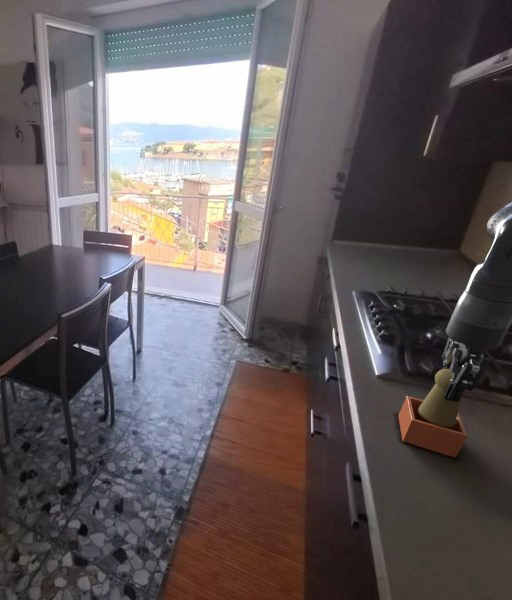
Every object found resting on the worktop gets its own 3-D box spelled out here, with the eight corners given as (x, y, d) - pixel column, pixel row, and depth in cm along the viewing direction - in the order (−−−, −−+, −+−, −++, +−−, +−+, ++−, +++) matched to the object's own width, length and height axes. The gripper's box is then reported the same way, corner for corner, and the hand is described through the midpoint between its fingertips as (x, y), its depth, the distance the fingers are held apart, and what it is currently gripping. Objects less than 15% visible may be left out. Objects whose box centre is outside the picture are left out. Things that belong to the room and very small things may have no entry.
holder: (398, 416, 82) (406, 395, 80) (446, 429, 78) (457, 409, 76) (402, 441, 76) (412, 420, 73) (455, 457, 72) (467, 436, 69)
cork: (410, 407, 77) (427, 366, 72) (436, 404, 78) (454, 363, 73) (436, 428, 72) (456, 384, 67) (463, 425, 72) (485, 381, 67)
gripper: (525, 340, 57) (482, 420, 64) (497, 305, 68) (463, 377, 75) (463, 329, 61) (429, 406, 68) (446, 298, 72) (418, 367, 79)
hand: (447, 390), depth 72 cm, fingers closed on cork, 5 cm apart
